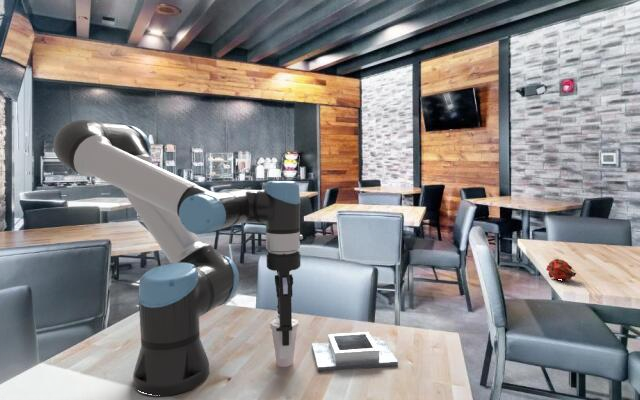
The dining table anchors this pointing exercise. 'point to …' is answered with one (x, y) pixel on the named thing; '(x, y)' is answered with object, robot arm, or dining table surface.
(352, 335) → the collar
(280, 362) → the smoothie
